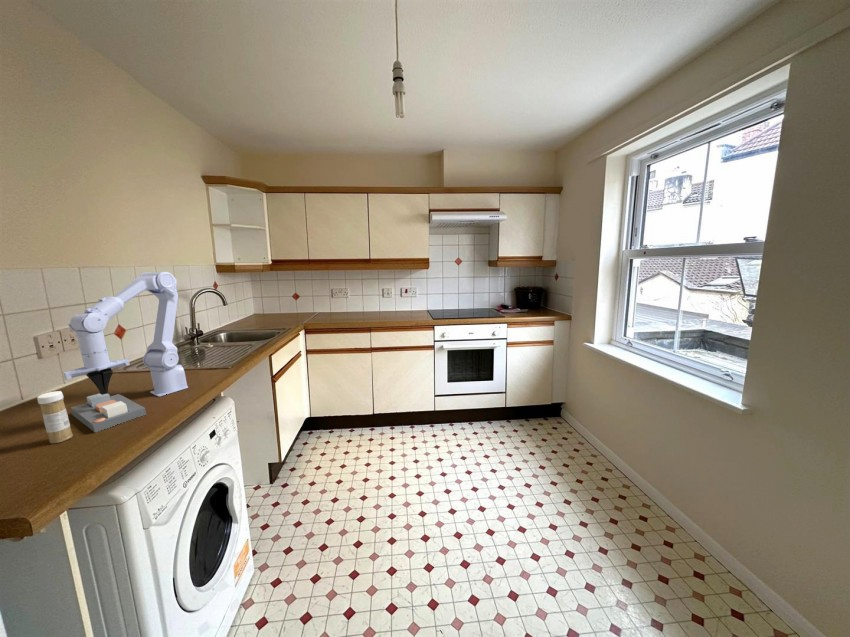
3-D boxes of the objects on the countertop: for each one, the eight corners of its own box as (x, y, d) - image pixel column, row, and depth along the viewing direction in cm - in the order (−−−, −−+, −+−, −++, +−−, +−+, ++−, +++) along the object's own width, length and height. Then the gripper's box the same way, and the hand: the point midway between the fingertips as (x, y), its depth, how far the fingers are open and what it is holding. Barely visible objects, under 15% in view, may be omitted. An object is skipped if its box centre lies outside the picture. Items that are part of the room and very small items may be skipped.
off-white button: (123, 411, 105) (120, 400, 104) (128, 414, 102) (126, 403, 102) (104, 417, 101) (101, 406, 100) (109, 420, 99) (106, 409, 98)
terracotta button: (115, 409, 109) (113, 399, 108) (120, 412, 107) (118, 402, 106) (96, 415, 105) (94, 404, 105) (101, 418, 103) (99, 408, 102)
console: (120, 400, 117) (118, 393, 117) (146, 415, 105) (144, 407, 104) (72, 414, 107) (70, 406, 107) (95, 432, 95) (92, 423, 94)
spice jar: (60, 436, 94) (48, 391, 91) (78, 434, 94) (66, 389, 92) (44, 445, 89) (31, 398, 87) (62, 443, 90) (50, 396, 87)
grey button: (107, 401, 113) (104, 392, 112) (111, 404, 110) (109, 394, 110) (88, 406, 109) (86, 397, 108) (93, 409, 107) (90, 399, 106)
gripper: (64, 360, 94) (75, 405, 97) (129, 347, 106) (137, 387, 109) (57, 357, 98) (68, 400, 100) (121, 344, 110) (129, 383, 112)
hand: (104, 393), depth 105 cm, fingers closed
